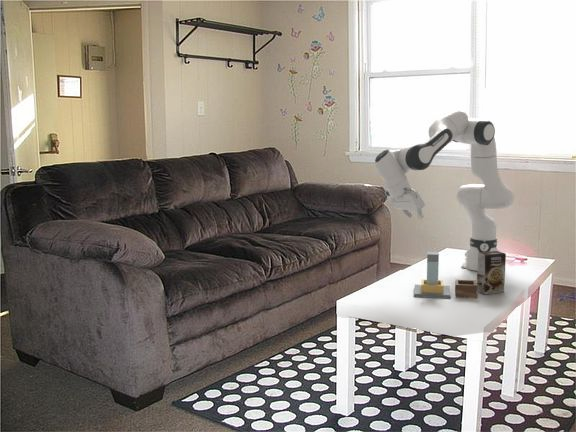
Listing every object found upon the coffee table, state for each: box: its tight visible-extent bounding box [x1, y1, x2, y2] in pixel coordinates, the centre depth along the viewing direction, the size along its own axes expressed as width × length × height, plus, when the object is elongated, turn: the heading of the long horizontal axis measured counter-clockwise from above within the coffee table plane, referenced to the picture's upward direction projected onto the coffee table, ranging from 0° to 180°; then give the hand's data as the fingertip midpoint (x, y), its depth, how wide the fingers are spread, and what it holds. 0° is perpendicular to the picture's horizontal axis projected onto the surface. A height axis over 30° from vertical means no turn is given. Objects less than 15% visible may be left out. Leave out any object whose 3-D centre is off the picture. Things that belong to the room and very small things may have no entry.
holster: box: [454, 279, 478, 299], centre depth 252 cm, size 8×8×5 cm
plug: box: [426, 251, 440, 285], centre depth 255 cm, size 4×4×15 cm
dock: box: [413, 279, 451, 299], centre depth 256 cm, size 14×14×4 cm
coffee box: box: [476, 251, 507, 295], centre depth 255 cm, size 9×6×16 cm
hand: (415, 217), depth 258 cm, fingers open, 8 cm apart
